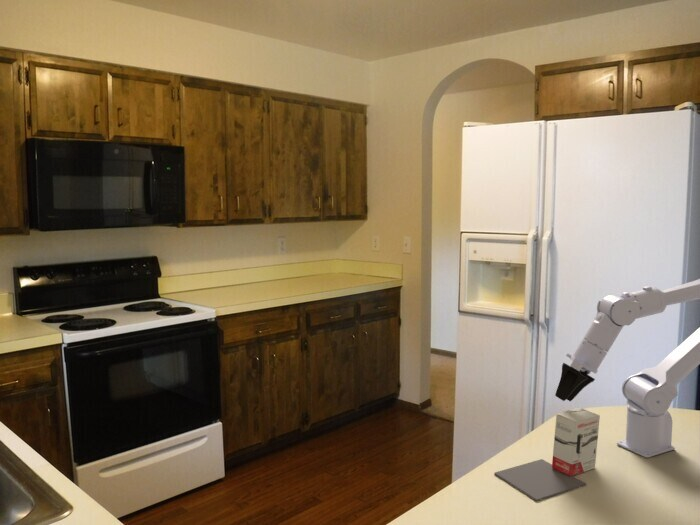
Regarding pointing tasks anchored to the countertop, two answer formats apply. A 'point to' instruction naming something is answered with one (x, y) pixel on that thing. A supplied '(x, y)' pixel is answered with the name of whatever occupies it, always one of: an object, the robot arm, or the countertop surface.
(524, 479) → the mat
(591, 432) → the ink box
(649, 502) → the countertop surface
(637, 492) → the countertop surface
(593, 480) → the countertop surface
